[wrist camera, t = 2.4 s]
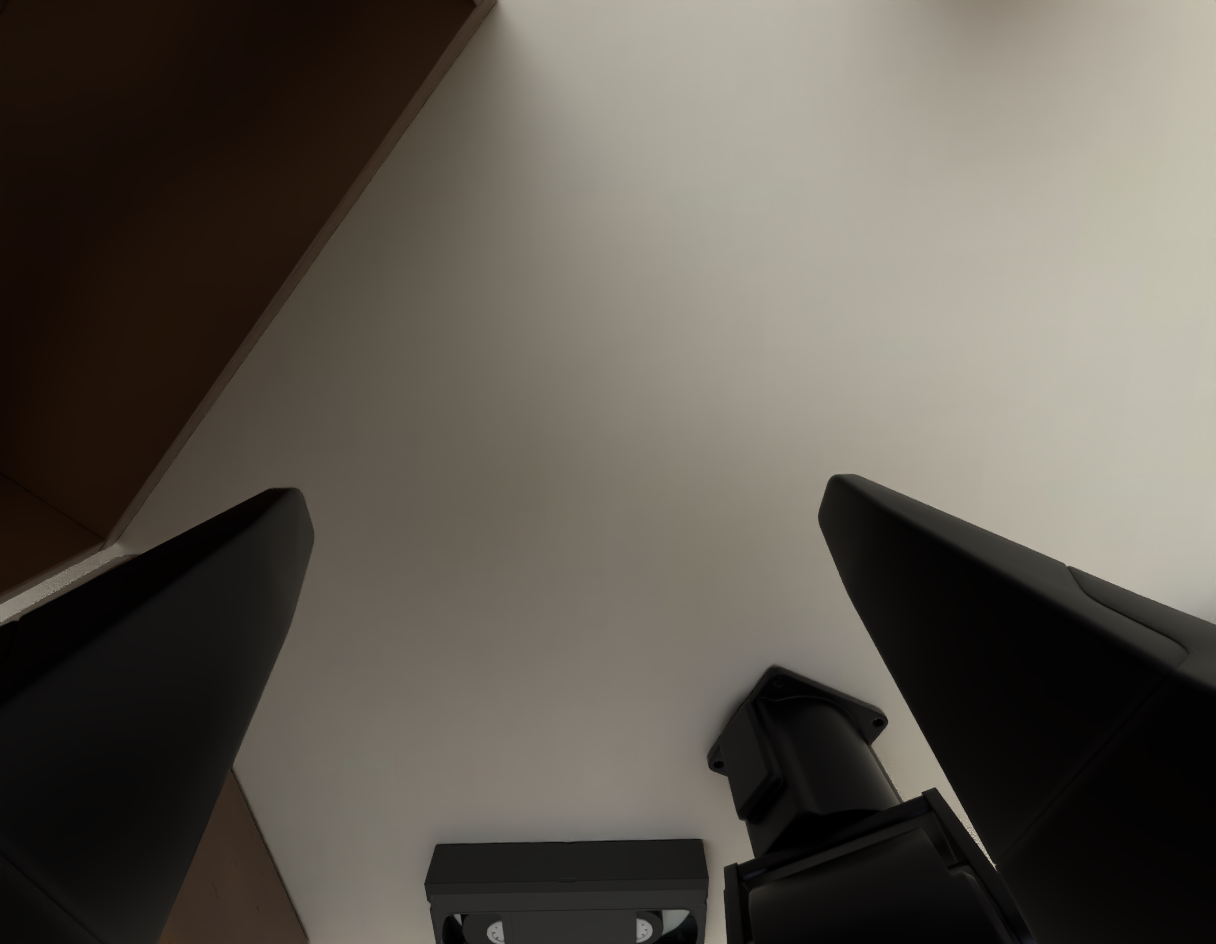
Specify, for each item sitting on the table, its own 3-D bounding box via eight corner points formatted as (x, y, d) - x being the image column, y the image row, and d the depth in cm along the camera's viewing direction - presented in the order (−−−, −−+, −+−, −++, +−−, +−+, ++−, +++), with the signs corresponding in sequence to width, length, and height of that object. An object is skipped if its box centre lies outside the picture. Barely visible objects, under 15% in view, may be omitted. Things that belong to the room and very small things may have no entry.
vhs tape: (452, 940, 31) (443, 983, 29) (436, 844, 29) (424, 884, 27) (696, 935, 31) (702, 977, 29) (701, 839, 29) (708, 878, 27)
